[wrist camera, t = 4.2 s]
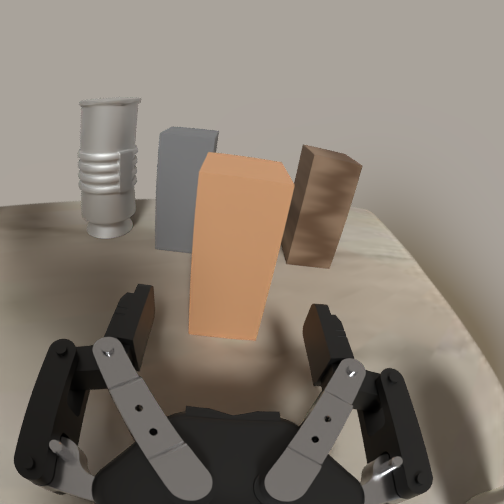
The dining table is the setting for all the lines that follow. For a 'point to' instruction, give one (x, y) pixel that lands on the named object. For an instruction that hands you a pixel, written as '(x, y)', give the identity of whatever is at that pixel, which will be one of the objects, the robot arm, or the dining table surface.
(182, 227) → the grey block
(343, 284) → the dining table surface
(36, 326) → the dining table surface
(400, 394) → the robot arm
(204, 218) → the orange block
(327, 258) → the walnut block
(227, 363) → the dining table surface
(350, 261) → the dining table surface
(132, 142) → the grey ribbed canister
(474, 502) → the beer glass
